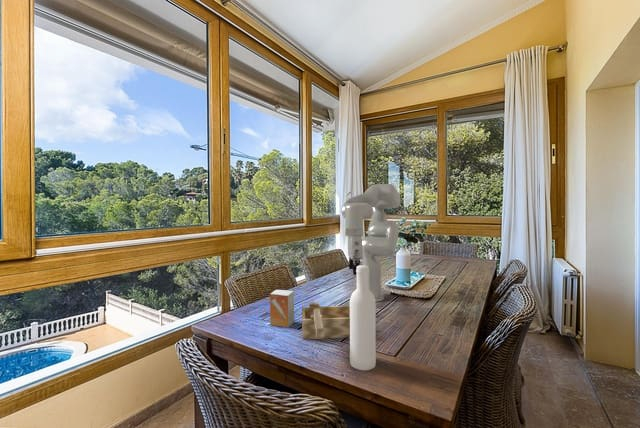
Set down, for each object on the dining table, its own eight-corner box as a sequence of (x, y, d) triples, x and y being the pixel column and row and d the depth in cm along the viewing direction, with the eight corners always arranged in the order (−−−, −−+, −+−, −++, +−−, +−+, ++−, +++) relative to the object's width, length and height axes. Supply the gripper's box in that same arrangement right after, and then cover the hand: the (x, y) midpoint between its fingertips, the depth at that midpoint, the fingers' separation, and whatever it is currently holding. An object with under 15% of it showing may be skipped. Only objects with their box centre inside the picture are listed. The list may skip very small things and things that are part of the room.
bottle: (346, 367, 87) (346, 268, 86) (353, 354, 94) (352, 262, 93) (373, 373, 84) (373, 270, 83) (378, 359, 91) (378, 264, 90)
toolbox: (350, 321, 121) (350, 301, 120) (358, 338, 106) (357, 315, 105) (302, 323, 119) (301, 303, 119) (302, 340, 104) (302, 317, 104)
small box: (269, 325, 117) (269, 293, 117) (276, 319, 123) (276, 289, 123) (288, 328, 115) (288, 295, 114) (294, 321, 121) (294, 290, 120)
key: (319, 317, 104) (319, 308, 103) (323, 338, 88) (323, 328, 88) (313, 317, 103) (313, 309, 103) (316, 338, 87) (316, 328, 87)
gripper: (367, 234, 118) (367, 276, 119) (358, 230, 135) (358, 266, 136) (349, 235, 117) (349, 277, 118) (342, 230, 134) (343, 267, 135)
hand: (354, 271), depth 127 cm, fingers open, 9 cm apart
